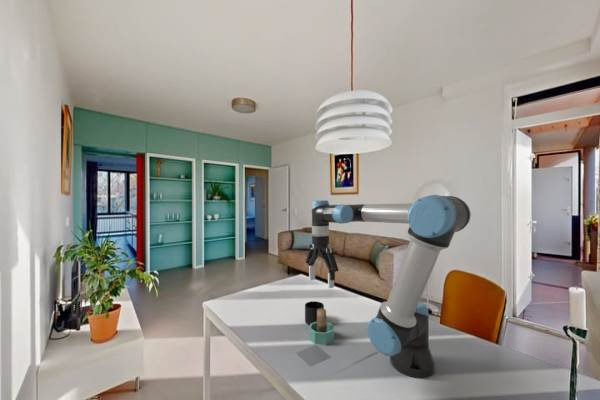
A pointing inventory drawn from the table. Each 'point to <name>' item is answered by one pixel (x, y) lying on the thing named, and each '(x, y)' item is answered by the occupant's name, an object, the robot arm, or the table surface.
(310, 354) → the coaster
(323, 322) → the dowel
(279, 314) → the table surface
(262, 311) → the table surface
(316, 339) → the teal octagonal bowl
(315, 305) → the mug
